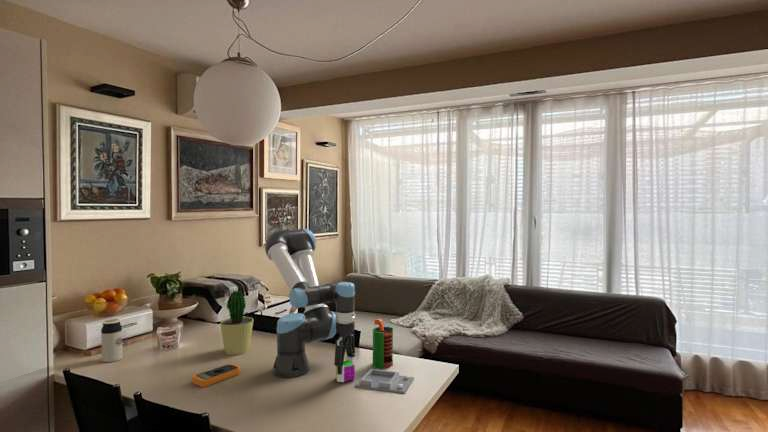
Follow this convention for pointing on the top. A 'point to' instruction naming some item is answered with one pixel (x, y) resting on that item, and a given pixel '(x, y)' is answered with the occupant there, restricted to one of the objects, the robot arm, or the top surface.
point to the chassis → (385, 381)
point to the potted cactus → (236, 326)
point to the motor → (382, 346)
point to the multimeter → (216, 375)
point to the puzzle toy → (348, 370)
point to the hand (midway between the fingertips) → (344, 377)
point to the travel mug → (111, 340)
